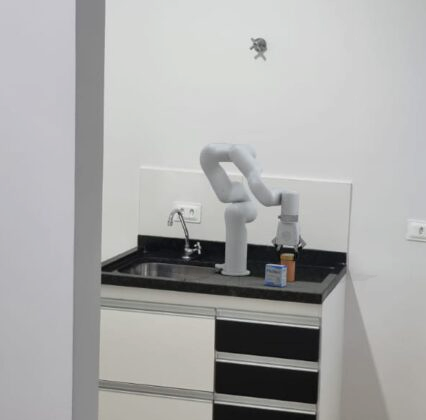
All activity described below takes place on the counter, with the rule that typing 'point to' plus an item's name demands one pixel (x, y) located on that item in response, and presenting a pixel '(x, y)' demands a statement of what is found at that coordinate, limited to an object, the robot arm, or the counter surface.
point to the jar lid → (287, 256)
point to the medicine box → (275, 275)
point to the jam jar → (289, 269)
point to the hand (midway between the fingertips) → (288, 259)
